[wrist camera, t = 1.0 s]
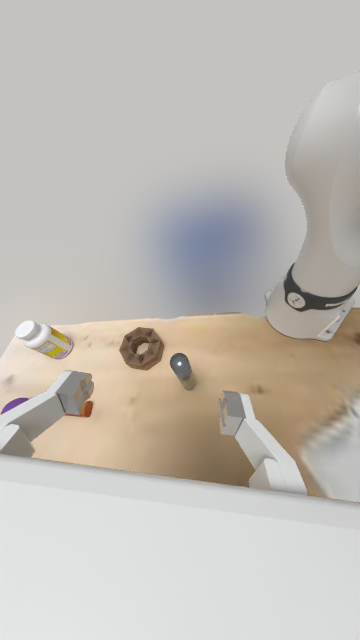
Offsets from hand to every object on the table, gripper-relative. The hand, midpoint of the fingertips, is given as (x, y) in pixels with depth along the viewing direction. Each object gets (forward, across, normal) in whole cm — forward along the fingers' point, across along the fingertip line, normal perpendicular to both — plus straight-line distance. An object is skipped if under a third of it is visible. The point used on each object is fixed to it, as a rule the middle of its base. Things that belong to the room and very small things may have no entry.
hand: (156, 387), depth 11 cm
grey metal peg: (+21, -5, +25) cm, 33 cm away
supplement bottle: (+31, +33, +28) cm, 54 cm away
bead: (+29, +8, +23) cm, 38 cm away
